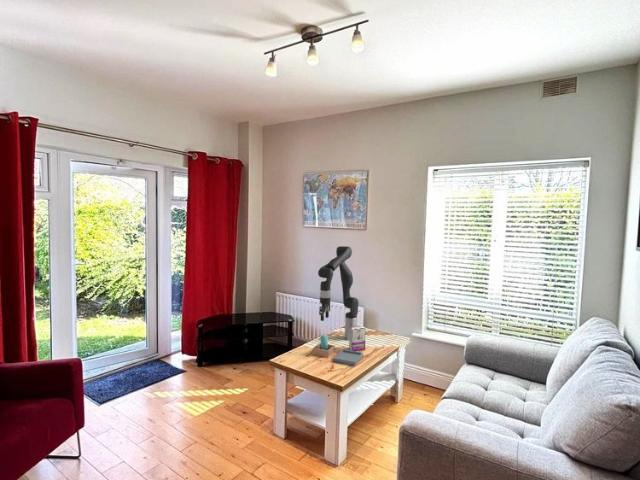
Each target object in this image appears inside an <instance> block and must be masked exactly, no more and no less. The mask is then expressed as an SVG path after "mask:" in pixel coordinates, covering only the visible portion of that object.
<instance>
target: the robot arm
mask: <svg viewBox="0 0 640 480" xmlns="http://www.w3.org/2000/svg"><path fill="white" fill-rule="evenodd" d="M352 254H353V250H352V248H351V246H347V245H346V246H343V245H342V246H341V245H340V246H337V247H336V257H334V258H332V259H331V260H329V262H328V263H326V264H325V265H323V266H321V267H320V268H319V270H318V271H317V275H318V276H319V278H322V279H326V280H324V281H321V282H320V290H319V303H320V304H321V306H319V310H318V315H319V316H320V322H324V321H325V318H326V319H328V318H329V317H330V314H329V313H330V312H331V298H332V297H331V296H332V295H331V284H332V280H333V277H334V272H335V271H336V270H337V269H338V268H339V273H340V281H341V287H342V301H343V302H342V303H343V306H344V307H345V308H346V309H350V310H349V311H347V312H346V313H345V315H344V317H345V319H344V323H345V324H344V339H345V340H347V341H349V328H351V327H358V325H357V324H358V313H359V299H358V298H357V297H353V296H351V293H350V292H351V291H350V290H351V288H352V286H353V284H354V278H353V277H354V276H353V273H352V271H351V269H350V267H348V265H347V263H346V261H347V260H348V259H350V258H351V257H352Z"/></svg>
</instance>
